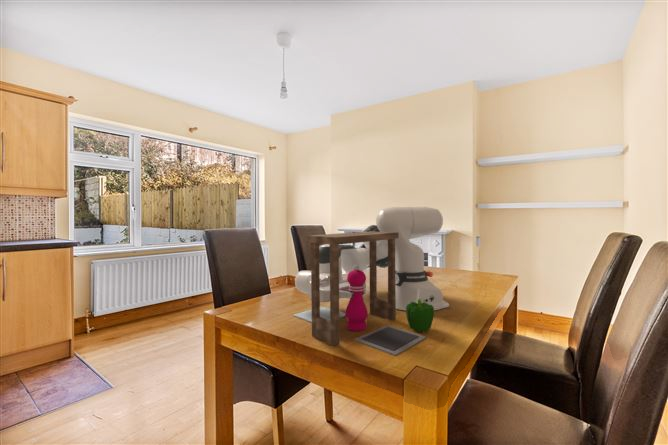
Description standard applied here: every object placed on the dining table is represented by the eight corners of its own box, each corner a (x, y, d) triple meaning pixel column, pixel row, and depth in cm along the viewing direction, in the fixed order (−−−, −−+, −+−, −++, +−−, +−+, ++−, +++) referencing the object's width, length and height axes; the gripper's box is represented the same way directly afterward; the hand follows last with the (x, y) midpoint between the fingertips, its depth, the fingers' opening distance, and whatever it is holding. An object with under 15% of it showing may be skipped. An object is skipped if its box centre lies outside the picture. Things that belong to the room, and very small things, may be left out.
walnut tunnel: (308, 335, 91) (307, 235, 90) (371, 312, 112) (370, 231, 112) (336, 347, 83) (336, 237, 82) (398, 320, 104) (398, 232, 103)
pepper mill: (366, 332, 93) (366, 267, 93) (343, 330, 95) (343, 266, 94) (368, 324, 100) (368, 263, 100) (347, 322, 102) (347, 263, 101)
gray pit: (354, 340, 88) (354, 338, 88) (386, 325, 99) (386, 324, 99) (395, 355, 78) (395, 354, 78) (426, 337, 89) (426, 336, 89)
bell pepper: (413, 323, 101) (412, 293, 101) (437, 328, 96) (437, 297, 96) (401, 330, 95) (401, 298, 95) (426, 337, 90) (426, 303, 89)
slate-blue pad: (293, 315, 110) (293, 314, 110) (322, 307, 119) (322, 306, 119) (319, 325, 100) (319, 324, 100) (348, 315, 109) (348, 314, 109)
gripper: (348, 290, 114) (378, 297, 104) (306, 301, 99) (336, 310, 90) (348, 273, 114) (378, 278, 104) (305, 282, 99) (336, 289, 89)
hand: (358, 293), depth 97 cm, fingers closed on pepper mill, 5 cm apart
